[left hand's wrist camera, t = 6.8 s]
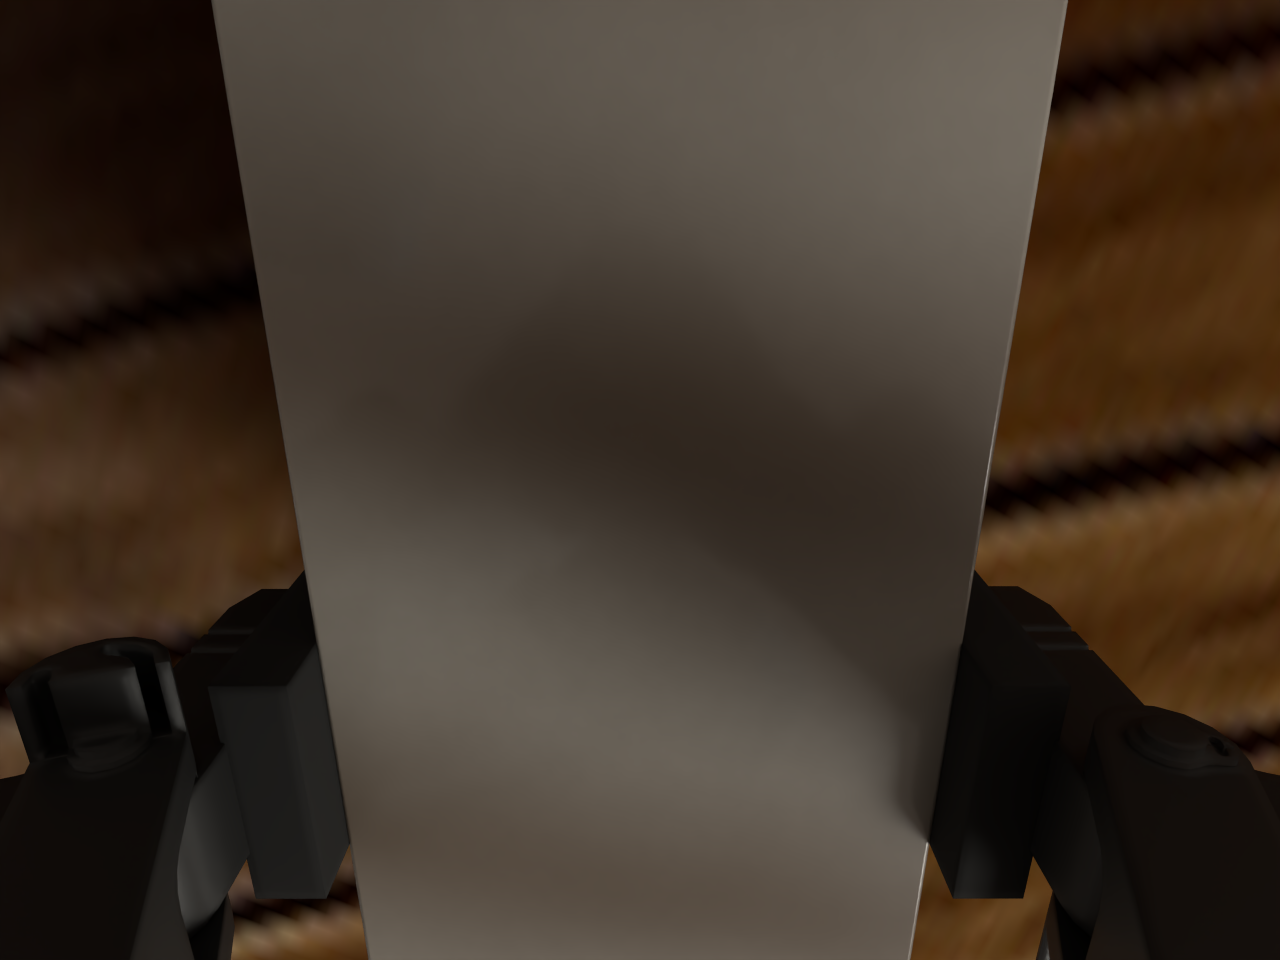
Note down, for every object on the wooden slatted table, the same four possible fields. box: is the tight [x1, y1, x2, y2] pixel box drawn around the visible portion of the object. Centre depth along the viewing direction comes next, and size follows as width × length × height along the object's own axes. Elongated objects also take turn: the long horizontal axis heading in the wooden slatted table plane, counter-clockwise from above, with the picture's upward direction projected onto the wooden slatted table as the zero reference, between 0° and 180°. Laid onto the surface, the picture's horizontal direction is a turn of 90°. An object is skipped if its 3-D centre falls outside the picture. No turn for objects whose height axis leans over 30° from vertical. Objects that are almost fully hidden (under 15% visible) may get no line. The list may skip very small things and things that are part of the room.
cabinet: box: [211, 0, 1068, 960], centre depth 12 cm, size 17×7×10 cm, turn 0°
